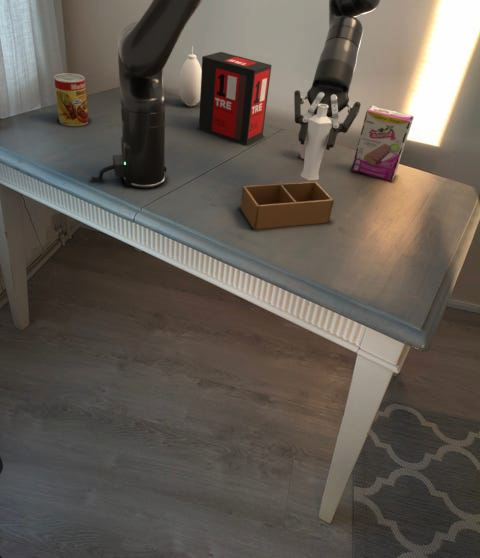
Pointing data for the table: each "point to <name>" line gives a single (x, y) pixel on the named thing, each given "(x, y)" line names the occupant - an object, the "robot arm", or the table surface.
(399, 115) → the candy bar box
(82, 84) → the canned food
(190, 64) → the sauce bottle
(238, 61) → the cleaning product box
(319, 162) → the perfume bottle
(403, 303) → the table surface
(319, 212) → the divided tray
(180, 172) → the table surface
